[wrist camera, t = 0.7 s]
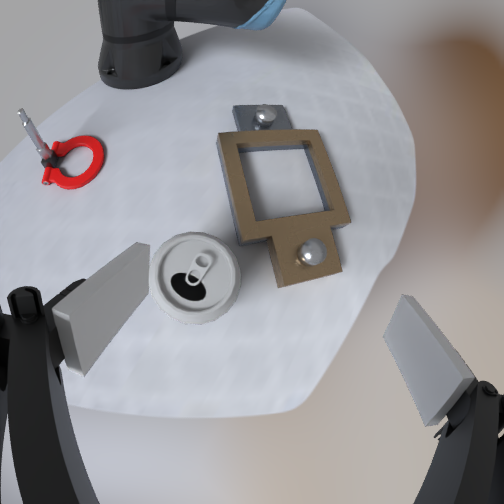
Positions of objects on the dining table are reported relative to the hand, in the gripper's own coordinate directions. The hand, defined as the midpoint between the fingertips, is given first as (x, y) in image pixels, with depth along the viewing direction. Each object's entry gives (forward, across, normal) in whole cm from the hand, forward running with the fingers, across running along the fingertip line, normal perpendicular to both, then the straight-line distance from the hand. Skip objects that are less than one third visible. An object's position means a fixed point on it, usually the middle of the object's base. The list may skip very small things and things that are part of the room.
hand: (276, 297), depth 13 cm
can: (+16, -8, -10) cm, 20 cm away
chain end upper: (+25, +2, +1) cm, 25 cm away
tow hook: (+20, -28, +2) cm, 35 cm away
